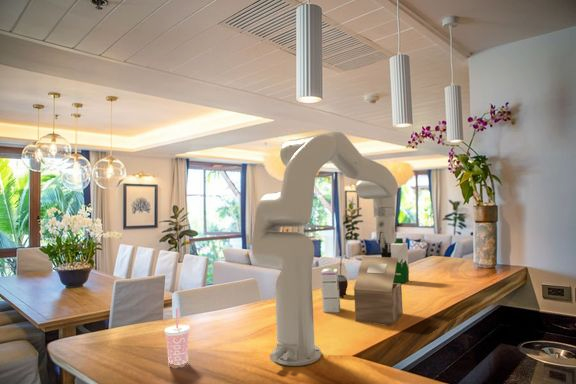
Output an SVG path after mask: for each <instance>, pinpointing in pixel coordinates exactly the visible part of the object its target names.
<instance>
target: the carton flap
mask: <svg viewBox="0 0 576 384" xmlns="http://www.w3.org/2000/svg"><path fill="white" fill-rule="evenodd" d="M360 260H361V261H360V265H359V269H358V272H357V277H356V280H355V284H354V287H353V291H354V290H356V291H369V292H382V293H392V287H393V282H394V277H395V271H396V266H397V260H398V258H395V257H381V256H362V258H361V259H360Z"/></svg>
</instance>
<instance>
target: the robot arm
mask: <svg viewBox="0 0 576 384" xmlns="http://www.w3.org/2000/svg"><path fill="white" fill-rule="evenodd" d="M279 152H280V153H279V155H280V156H279V157H280V160H281V162H282V164H283V165H284V166H285V169H284V171H283V172H284V173H283V178H282V179H283V180H282V185H281V190H280V191H278V192H269V193H266V194H264V195H263V196H262V197H261V198H260V199H259V201H258V202H257V206H256V209H255V213H254V214H255V215H254V223H253V231H252V240H251V241H252V242H251V253H252V258H253V260H254V261H255V262H256V264H258V265H259V266H261V267H266V268H274V269H281V270H280V273H279V275H278V276H277V279H276V281H275V286H274V295H275V316H276V319H275V320H276V341H277V342H276V346H275V348H274V349H273V350H272V351H271V354H270V355H269V359H270V361H271V362H273V363H274V362H276V363H277V364H279V365H283V366H287V367H288V366H290V367H298V366H299V367H301V366H307V365H311V364H313V363H316V362H317V361H318V360H319V359H321V356H322V350H321V347H319V346H317V345H316V344H315V326H314V324H315V322H314V303H313V280H312V279H313V268H314V265H313V264H314V258H315V244H314V242H313V240H312V239H311V238H310V236H308V235H306V234H304V233H302V232H298V231H297V232H296V231H281V228H300V227H301V228H302V227H305V226H307V225H308V224H309V223H310V221H311V219H312V212H313V203H314V193H315V183H316V177H317V174H318V172H319V171H320V170H321V168H322V167H324V165H326V164H327V163H328V162H331V163H332V164H333V165H334V166H335V167H336V168H337V170H339V172H340V173H341V174H342V175H343V176H345V177H347V178H349V179H352V180H356V181H357V182H356V184H355V193H356V195H357V197H359V198H360V199H363V200H372V203H373V204H372V205H373V207H372V208H373V218H374V217H375V218H376V219H375V232H376V233H375V236H376V244H378V245H380V246H379V247H380V252H381V253H380V257H391V244H392V243H394V242H395V241H396V238H397V237H396V227H395V225H396V224H395V218H394V217H396V207H395V196H396V195H397V194H398V191H399V185H398V181H397V179H396V177H395V176H394V175H393V173H392V171H390V170H389V168H388V167H386V166H385V165H383V164H382V163H379V162H377V161H375V160H373V159H369V158H368V157H364V156H363V155H362V153H360V151H359V150H358V149H357V148H356V146H355V145H354V144H353V143H352V142H351V140H350V139H349V138H348V137H347V135H345V134H344V133H342V132H340V131H331V132H324V133H320V134H314V135H310V136H305V137H302V138H297V139H296V138H295V139H290V140H287V141H286V142H284V143H283V145H282V146H281V148H280V151H279Z"/></svg>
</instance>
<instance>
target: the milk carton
mask: <svg viewBox="0 0 576 384" xmlns="http://www.w3.org/2000/svg"><path fill="white" fill-rule="evenodd" d="M403 239H404V238H402V237H398V238H397V237H396V241H395V242H394V243H392V244H391V257H395V258H398V260H397V266H396V271H395V277H394V282H393V283H397V284H401V285H402V284H403V285H404V284H406V283H408V282H409V279H410V269H409V267H410V265H409V250H408V249H409V247H408V245H409V244H408V242H404V241H403Z"/></svg>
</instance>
